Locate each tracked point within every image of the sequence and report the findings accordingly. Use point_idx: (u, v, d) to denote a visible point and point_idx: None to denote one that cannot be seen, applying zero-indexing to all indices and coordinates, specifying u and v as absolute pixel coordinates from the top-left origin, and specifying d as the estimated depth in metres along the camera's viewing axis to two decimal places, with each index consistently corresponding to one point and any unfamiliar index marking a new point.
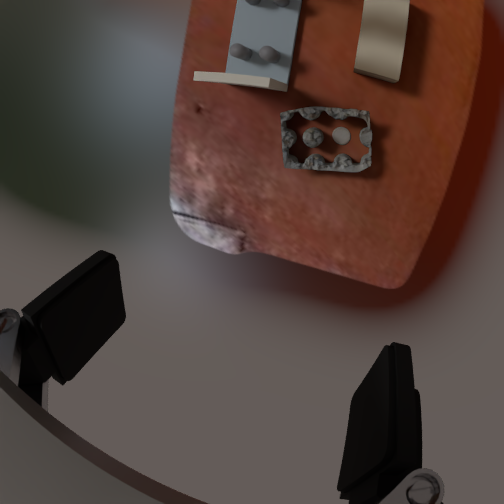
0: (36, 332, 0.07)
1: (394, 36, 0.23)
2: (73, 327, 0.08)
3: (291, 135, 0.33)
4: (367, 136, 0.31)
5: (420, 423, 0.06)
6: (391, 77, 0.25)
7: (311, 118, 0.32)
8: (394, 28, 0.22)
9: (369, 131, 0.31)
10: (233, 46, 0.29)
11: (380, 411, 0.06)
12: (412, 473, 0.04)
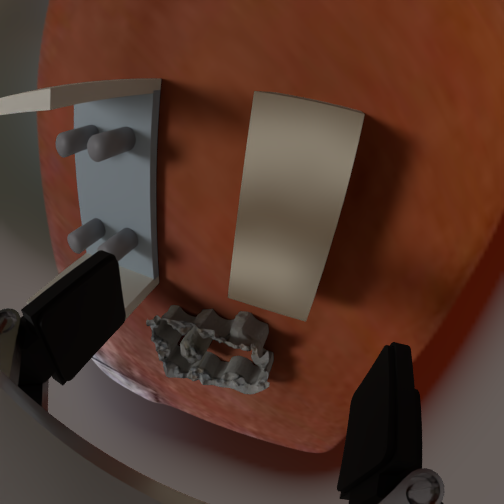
0: (36, 332, 0.07)
1: (307, 242, 0.15)
2: (73, 327, 0.08)
3: (166, 345, 0.26)
4: (261, 357, 0.23)
5: (420, 423, 0.06)
6: (293, 315, 0.18)
7: (182, 333, 0.24)
8: (309, 223, 0.15)
9: None
10: (70, 237, 0.21)
11: (380, 411, 0.06)
12: (412, 473, 0.04)
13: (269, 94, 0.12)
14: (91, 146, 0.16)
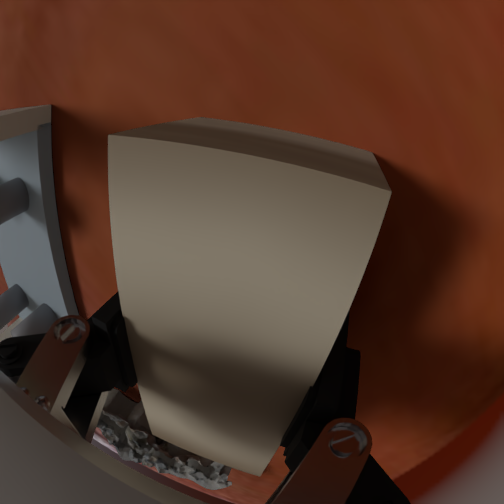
0: (108, 339, 0.07)
1: (248, 417, 0.08)
2: None
3: (111, 431, 0.18)
4: None
5: (357, 380, 0.07)
6: (241, 469, 0.10)
7: (120, 426, 0.16)
8: (250, 397, 0.07)
9: None
10: None
11: None
12: (336, 420, 0.06)
13: (137, 140, 0.05)
14: None
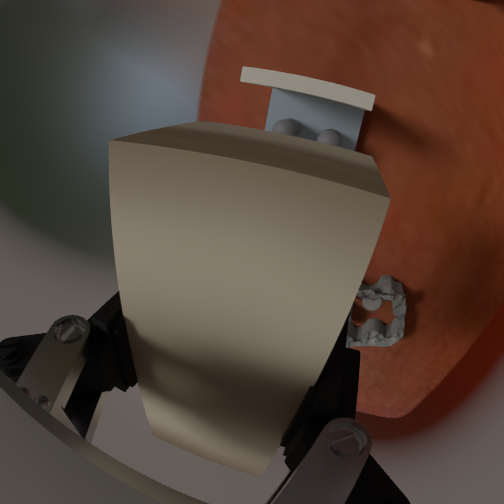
0: (108, 339, 0.07)
1: (249, 418, 0.08)
2: None
3: None
4: (401, 309, 0.28)
5: (357, 380, 0.07)
6: (241, 469, 0.10)
7: None
8: (250, 400, 0.07)
9: None
10: None
11: None
12: (336, 420, 0.06)
13: (137, 145, 0.05)
14: (323, 139, 0.21)
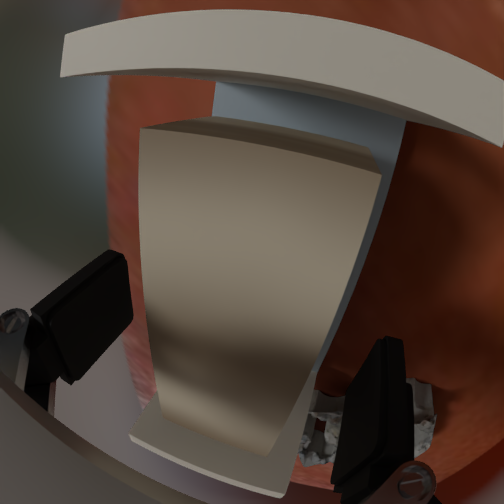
0: (45, 332, 0.07)
1: (259, 389, 0.09)
2: (82, 326, 0.08)
3: (306, 437, 0.19)
4: None
5: (412, 416, 0.06)
6: (249, 449, 0.11)
7: (334, 423, 0.17)
8: (261, 368, 0.08)
9: None
10: None
11: (372, 403, 0.06)
12: (403, 465, 0.05)
13: (167, 132, 0.06)
14: None
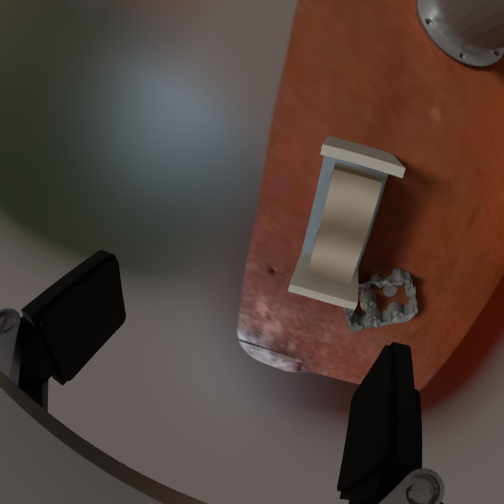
0: (36, 332, 0.07)
1: (352, 241, 0.30)
2: (73, 327, 0.08)
3: None
4: (411, 291, 0.37)
5: (420, 423, 0.06)
6: (342, 281, 0.33)
7: (365, 292, 0.39)
8: (354, 232, 0.30)
9: (412, 287, 0.36)
10: None
11: (380, 411, 0.06)
12: (412, 473, 0.04)
13: (340, 171, 0.28)
14: None
